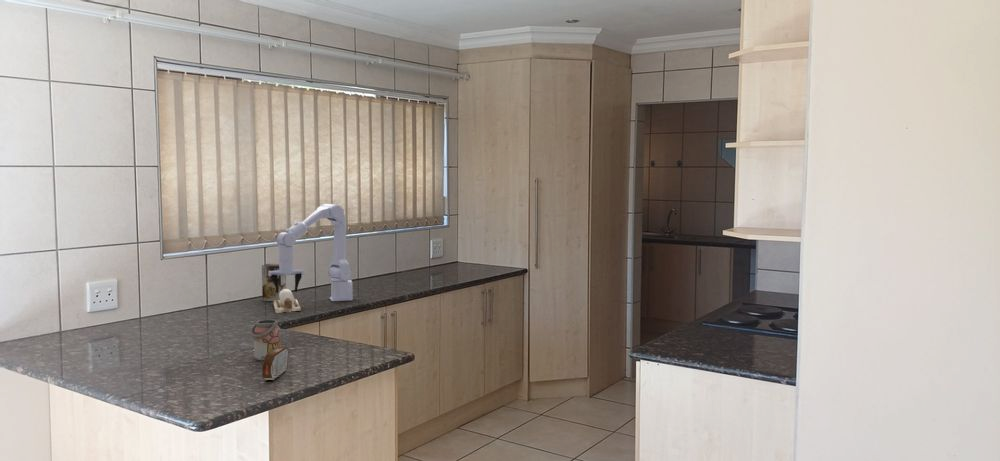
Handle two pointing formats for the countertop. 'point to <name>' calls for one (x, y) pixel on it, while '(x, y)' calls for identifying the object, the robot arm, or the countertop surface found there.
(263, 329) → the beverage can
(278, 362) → the tin
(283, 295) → the paper roll
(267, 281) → the coffee box
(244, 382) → the countertop surface
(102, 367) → the countertop surface
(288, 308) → the roll holder
